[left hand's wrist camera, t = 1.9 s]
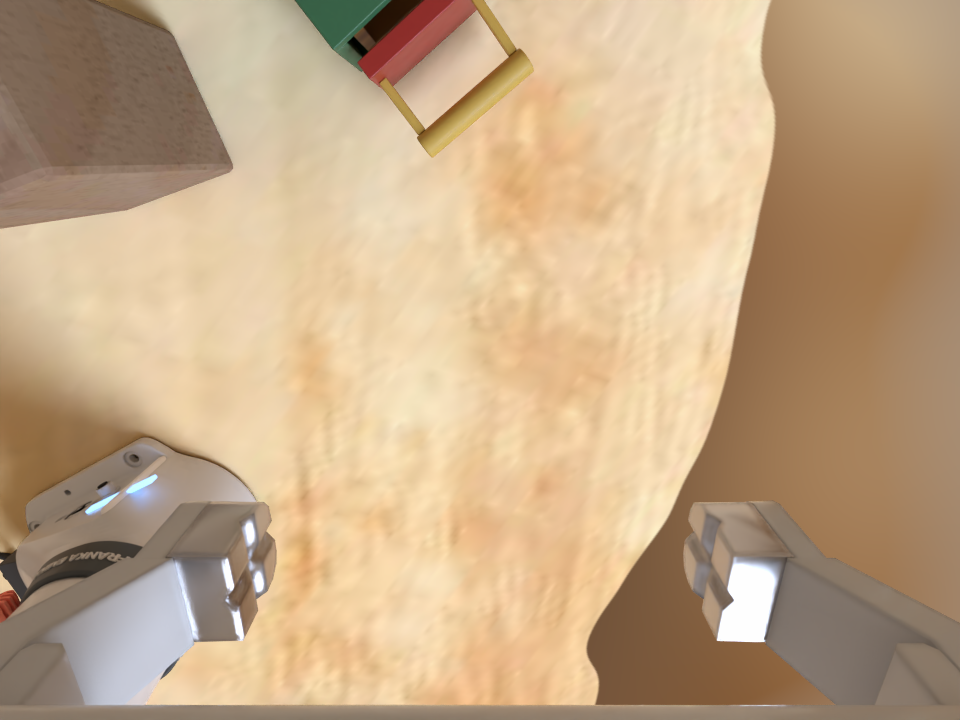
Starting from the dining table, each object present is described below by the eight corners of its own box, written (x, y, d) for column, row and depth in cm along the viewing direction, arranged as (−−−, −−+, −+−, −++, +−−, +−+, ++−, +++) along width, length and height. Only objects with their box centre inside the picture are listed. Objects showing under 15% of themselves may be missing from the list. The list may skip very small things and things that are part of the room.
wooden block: (173, 30, 39) (-106, -91, 20) (237, 169, 42) (49, 178, 23) (52, 78, 40) (-322, 7, 21) (124, 211, 43) (-143, 251, 24)
